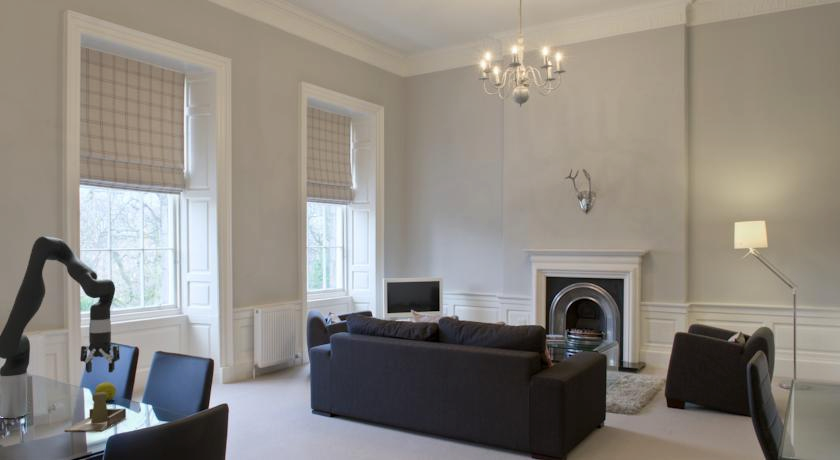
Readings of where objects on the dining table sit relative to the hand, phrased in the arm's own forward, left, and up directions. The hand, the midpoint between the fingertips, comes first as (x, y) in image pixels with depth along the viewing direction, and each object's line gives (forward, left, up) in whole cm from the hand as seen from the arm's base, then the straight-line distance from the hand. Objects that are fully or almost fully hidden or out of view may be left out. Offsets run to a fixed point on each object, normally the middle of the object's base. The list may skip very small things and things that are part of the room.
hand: (100, 372), depth 240 cm
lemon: (-16, +33, -20) cm, 42 cm away
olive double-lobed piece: (0, 0, -19) cm, 19 cm away
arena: (0, -2, -20) cm, 20 cm away
